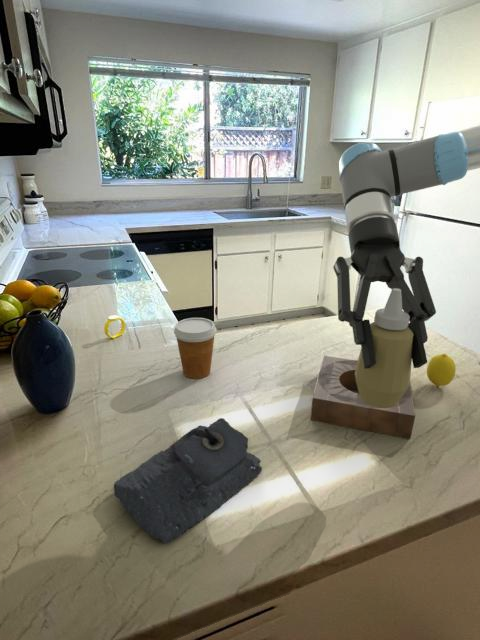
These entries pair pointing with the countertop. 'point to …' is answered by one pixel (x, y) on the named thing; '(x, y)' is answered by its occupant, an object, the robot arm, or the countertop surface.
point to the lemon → (441, 370)
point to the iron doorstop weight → (188, 480)
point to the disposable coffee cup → (195, 346)
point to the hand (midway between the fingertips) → (395, 365)
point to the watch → (110, 319)
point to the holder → (356, 402)
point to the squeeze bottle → (387, 356)
